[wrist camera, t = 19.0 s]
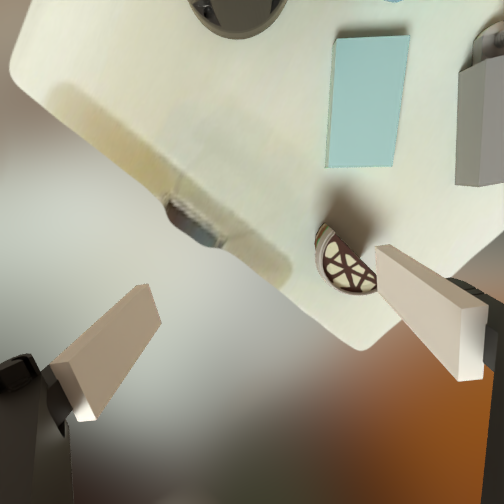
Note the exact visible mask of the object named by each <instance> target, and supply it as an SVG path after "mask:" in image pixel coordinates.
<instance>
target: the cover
mask: <svg viewBox="0 0 504 504" xmlns="http://www.w3.org/2000/svg"><path fill="white" fill-rule="evenodd" d="M409 41H410V35H403V36H382V37H361V38H340V39H336V41H335V43H334V45H333V47H332V61H331V77H330V93H329V109H328V125H327V141H326V157H325V168H344V167H392V166H393V158H394V151H395V144H396V136H397V129H398V122H399V114H400V107H401V100H402V92H403V85H404V78H405V70H406V63H407V56H408V48H409Z"/></svg>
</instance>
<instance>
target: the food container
mask: <svg viewBox="0 0 504 504" xmlns="http://www.w3.org/2000/svg"><path fill="white" fill-rule="evenodd" d="M335 233H336V232H335V231H334V230H333V229H331V228H330V227H329V226H328V225H327V224H326V223H324V224H323V225H322V226H321V227H320V229H319V231H318V232H317V234H316V238H315V249H316V253H315V262H316V267H317V269H318V272H319V274H320V276H321V277H322V278H323V280H324V281H325V282H326V283H327V284H329V285H330V286H331V287H333V288H334V289H336V290H338V291H340V292H342V293H345V294H349V295H367V294H372V293H375V292H377V275H376V274H375V273H374V272H373V271H372V270H371V269H370V268H369V267H368V266H367V265H366V264H365V263H364V262H363V261H362V260H361V259H360V258H359V257H358V256H357V255H356V254H355V253H354V252H353V251H352V250H351V249H350V248H349V247H348V246H347V245H346V243H345V242H343V241H342V240H341V239H340V238H339V237H338V236H337V235H336V234H335Z"/></svg>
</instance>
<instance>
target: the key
mask: <svg viewBox="0 0 504 504" xmlns="http://www.w3.org/2000/svg"><path fill="white" fill-rule="evenodd" d="M494 45H495V46H496V47H497V48H503V47H504V29H503V30H501V31H500V32H498V33H497V34H496V36H495V38H494Z"/></svg>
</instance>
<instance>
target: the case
mask: <svg viewBox="0 0 504 504" xmlns="http://www.w3.org/2000/svg"><path fill="white" fill-rule="evenodd" d="M503 29H504V21H499V22H497V23H495V24H493V25H492V26H490V27H489V28H487V29H485V30H484V31H483V32H481V33H480V34H479V36H478V37H477V39H476V40H475V41H473V61H472V67H470V68H468V69H466V70H464V71H462V72H460V73H459V80H458V110H457V140H456V170H455V185H461V186H472V187H482V186H487V185H493V184H499V183H504V47H503V48H497V47H496V46H495V45H494V38H495V36H496V34H497V33H498V32H500V31H501V30H503Z"/></svg>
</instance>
